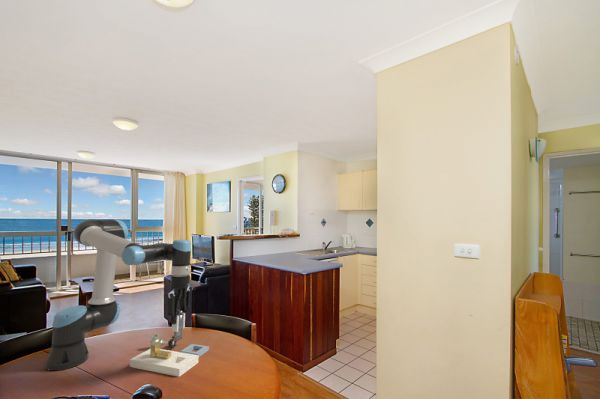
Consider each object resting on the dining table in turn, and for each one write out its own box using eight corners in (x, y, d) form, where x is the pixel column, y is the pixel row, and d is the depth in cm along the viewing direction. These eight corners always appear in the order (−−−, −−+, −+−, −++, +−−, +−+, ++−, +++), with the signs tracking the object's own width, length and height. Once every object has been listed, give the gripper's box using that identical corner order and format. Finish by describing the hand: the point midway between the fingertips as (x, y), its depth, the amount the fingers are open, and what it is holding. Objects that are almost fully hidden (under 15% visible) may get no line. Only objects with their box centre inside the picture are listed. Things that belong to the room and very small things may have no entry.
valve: (146, 352, 137) (170, 353, 136) (147, 338, 137) (170, 339, 136) (154, 346, 143) (177, 346, 142) (155, 332, 144) (177, 333, 143)
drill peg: (171, 340, 121) (173, 311, 121) (177, 337, 124) (178, 309, 125) (178, 341, 120) (179, 312, 120) (183, 338, 123) (184, 309, 124)
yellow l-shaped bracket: (150, 356, 123) (150, 345, 124) (155, 353, 126) (156, 342, 127) (166, 359, 121) (167, 347, 121) (172, 355, 124) (172, 344, 124)
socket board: (129, 369, 121) (130, 359, 121) (151, 356, 132) (152, 347, 132) (179, 379, 113) (179, 368, 113) (198, 364, 124) (198, 355, 125)
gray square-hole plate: (180, 356, 132) (180, 350, 132) (191, 349, 140) (192, 343, 140) (198, 359, 129) (198, 353, 129) (208, 351, 137) (209, 346, 137)
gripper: (174, 279, 115) (171, 338, 113) (199, 272, 130) (197, 324, 129) (159, 277, 117) (156, 335, 115) (186, 271, 132) (184, 322, 131)
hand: (178, 329), depth 122 cm, fingers closed on drill peg, 3 cm apart
